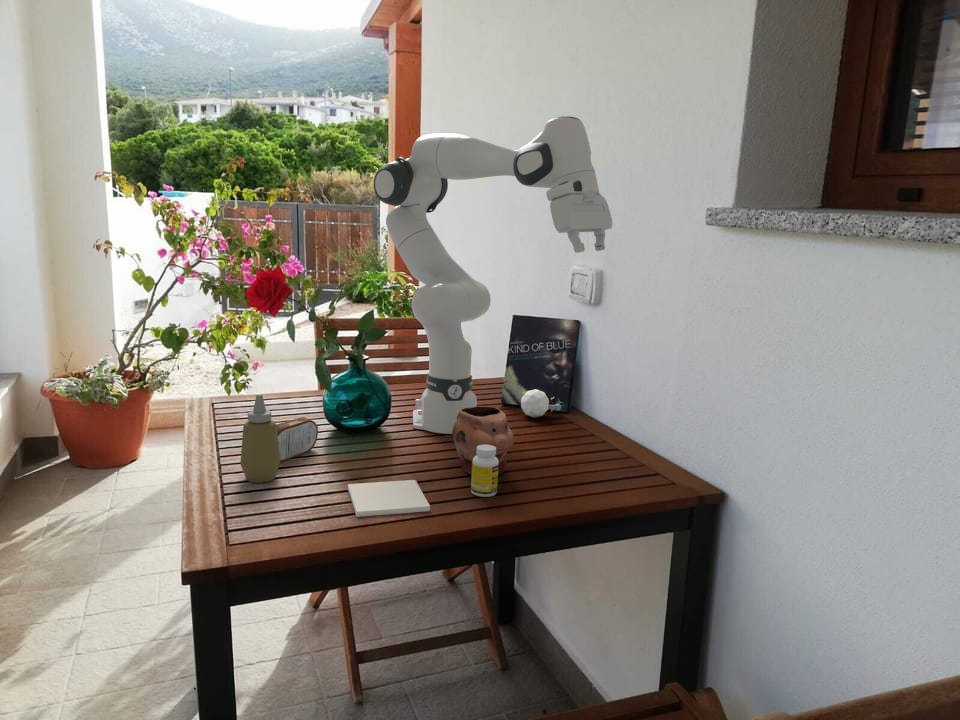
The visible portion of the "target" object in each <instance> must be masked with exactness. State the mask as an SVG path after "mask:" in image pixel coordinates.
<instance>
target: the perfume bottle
mask: <svg viewBox="0 0 960 720" xmlns="http://www.w3.org/2000/svg"><path fill="white" fill-rule="evenodd" d="M520 401H521V403H520V404H521V405H520V407H521V409H522V411H523V412H524V415H526V416H528V417H531V418H533V419H535V418H539V417H542V416H544V415H545V414H546V412H547V411H548V410H551V411H550V412H553V411H560V410H561V409H562V405H561V404H560V403H555V404H549V403H550V400H549V398H548V396H547V395H546V393H545V392H544V391H542V390H540V389H535V388H534V389H531V390H527V391H526V392H525V394H524V395H523V396H522V397H521V400H520Z"/></svg>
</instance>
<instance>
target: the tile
mask: <svg viewBox="0 0 960 720" xmlns="http://www.w3.org/2000/svg"><path fill="white" fill-rule="evenodd" d="M347 491H348V494H349V497H350V501H351V503H352V507H353V510H354V512H355V513H354V514H355V516H356V518H357V517H358V518H359V517H360V518H361V517H371V516H383V515H385V516H386V515H396V514H410V513H421V512H424V513H425V512H430V511H431V505H430V503H429V502H428V500H427V498H426V496H425V494H424V493H423V491H422V490H421V488H420V486H419V484H418V482H417V480H416V479H409V480H408V479H407V480H391V481H377V482H363V483H361V482H360V483H348V484H347Z"/></svg>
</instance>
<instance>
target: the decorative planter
mask: <svg viewBox="0 0 960 720" xmlns="http://www.w3.org/2000/svg"><path fill="white" fill-rule="evenodd" d="M507 419H508V418H507V415H506V413H504V412H503V411H502V409H499V408H497V407H493V406H488V405H487V406H486V405H477V406H475V407H466V408H463V409H461V410H460V411H459V413H458V415H457V421H456V422H455V424H454V426H453V430H452V434H451V436H452V440H453V442H454V445H455V448H456V453H457V456H458V459H459V461H460V466H461V468H462V470H463V471H464V472H466V473H468V474H470V475H472V461H473V458H474V457H475V456H477V454H476V453H477V452H476V450H477V446H479V445H492V446H495V447H496V455H495V457H496V458H497V459H498V461H499V465H498V476H499V475H501V474H503V473H505V470H506V467H507V464H508V461H507V460H508V456H507V451H508V449H509V448H511V447H512V446H513V445H514V441H515V437H514V436H515V435H514V433H513V431H512V430H511V428H510V426H509V424H508V420H507Z"/></svg>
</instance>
